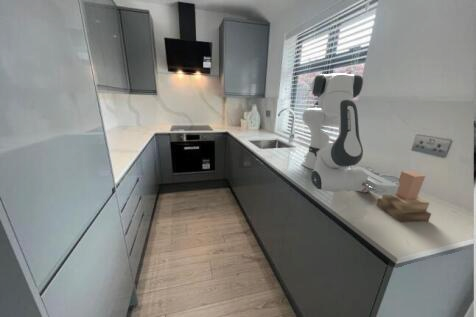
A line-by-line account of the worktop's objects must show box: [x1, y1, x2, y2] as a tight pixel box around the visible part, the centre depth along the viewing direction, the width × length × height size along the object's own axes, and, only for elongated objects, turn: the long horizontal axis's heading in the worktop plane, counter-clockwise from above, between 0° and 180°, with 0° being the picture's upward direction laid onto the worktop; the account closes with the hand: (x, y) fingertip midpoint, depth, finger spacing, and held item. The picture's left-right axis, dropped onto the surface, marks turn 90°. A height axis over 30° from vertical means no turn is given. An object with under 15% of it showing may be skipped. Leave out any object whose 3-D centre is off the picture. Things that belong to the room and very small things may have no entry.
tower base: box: [376, 197, 432, 223], centre depth 80 cm, size 12×12×4 cm
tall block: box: [396, 170, 426, 200], centre depth 77 cm, size 5×5×10 cm
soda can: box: [358, 166, 375, 193], centre depth 98 cm, size 7×7×12 cm
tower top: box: [381, 195, 430, 213], centre depth 79 cm, size 10×10×4 cm
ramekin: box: [379, 174, 400, 182], centre depth 99 cm, size 13×13×7 cm
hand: (387, 179), depth 76 cm, fingers open, 8 cm apart
